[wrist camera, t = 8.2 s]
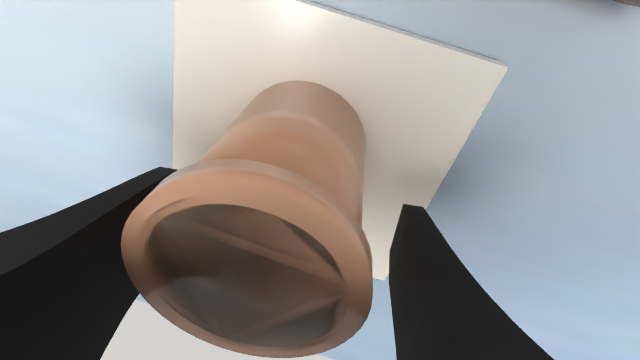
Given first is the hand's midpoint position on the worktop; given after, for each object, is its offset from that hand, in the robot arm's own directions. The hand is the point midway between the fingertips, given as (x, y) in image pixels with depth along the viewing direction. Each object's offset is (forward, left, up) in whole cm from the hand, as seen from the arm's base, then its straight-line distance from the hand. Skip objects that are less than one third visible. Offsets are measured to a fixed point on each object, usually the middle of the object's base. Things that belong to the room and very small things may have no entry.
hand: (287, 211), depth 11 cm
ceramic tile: (0, 0, -4) cm, 4 cm away
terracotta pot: (0, -1, -3) cm, 3 cm away
